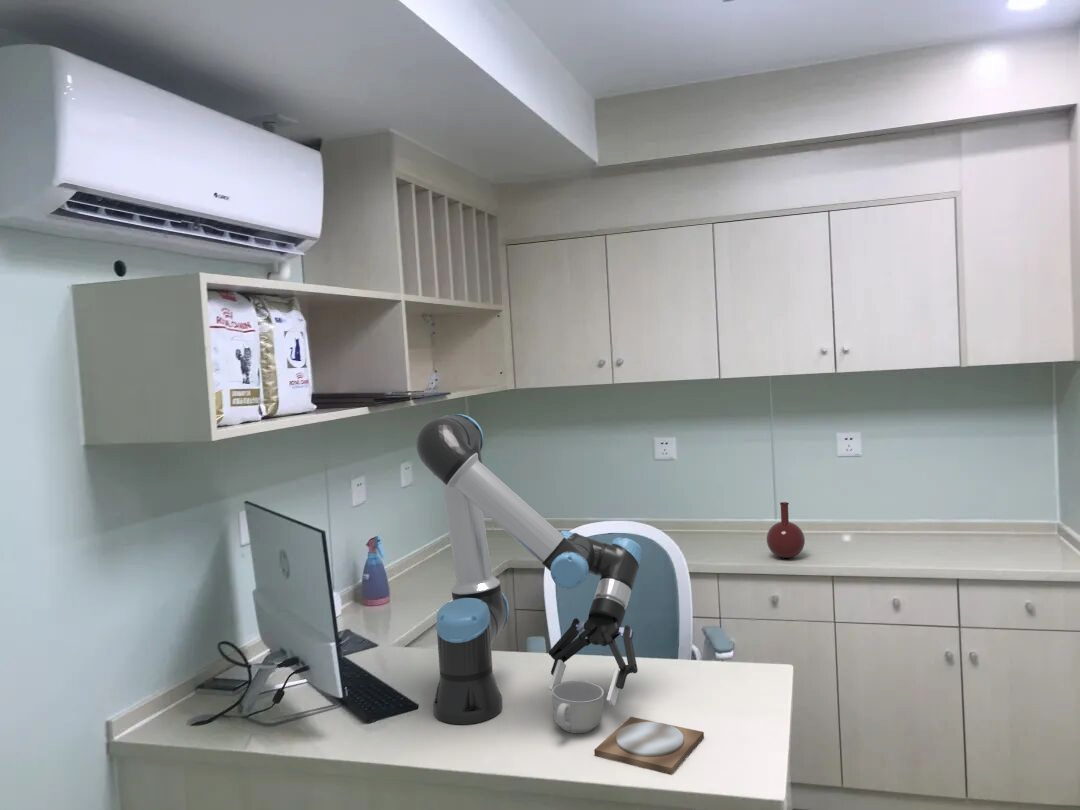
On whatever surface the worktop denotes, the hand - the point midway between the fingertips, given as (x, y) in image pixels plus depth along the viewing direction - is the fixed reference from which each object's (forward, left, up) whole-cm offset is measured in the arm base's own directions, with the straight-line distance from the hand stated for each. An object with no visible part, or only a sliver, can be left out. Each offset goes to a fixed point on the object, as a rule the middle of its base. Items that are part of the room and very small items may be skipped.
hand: (580, 697), depth 171 cm
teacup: (-1, -1, -7) cm, 7 cm away
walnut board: (+16, -1, -7) cm, 17 cm away
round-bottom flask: (0, +150, -7) cm, 150 cm away
